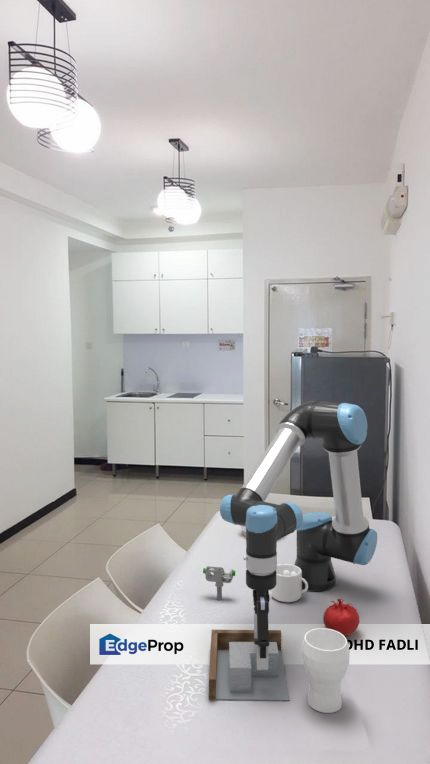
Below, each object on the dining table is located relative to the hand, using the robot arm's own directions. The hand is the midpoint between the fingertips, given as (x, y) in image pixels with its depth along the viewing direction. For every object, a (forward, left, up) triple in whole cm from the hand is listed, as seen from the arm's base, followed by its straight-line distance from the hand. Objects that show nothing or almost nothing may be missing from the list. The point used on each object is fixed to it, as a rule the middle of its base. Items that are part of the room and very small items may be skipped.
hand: (260, 652), depth 136 cm
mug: (-12, -40, -5) cm, 42 cm away
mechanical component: (+11, -38, -5) cm, 40 cm away
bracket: (+2, 0, -5) cm, 5 cm away
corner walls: (+11, -9, -5) cm, 15 cm away
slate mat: (+11, -9, -5) cm, 15 cm away
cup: (-14, +11, -5) cm, 19 cm away
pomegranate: (-24, -20, -5) cm, 32 cm away
